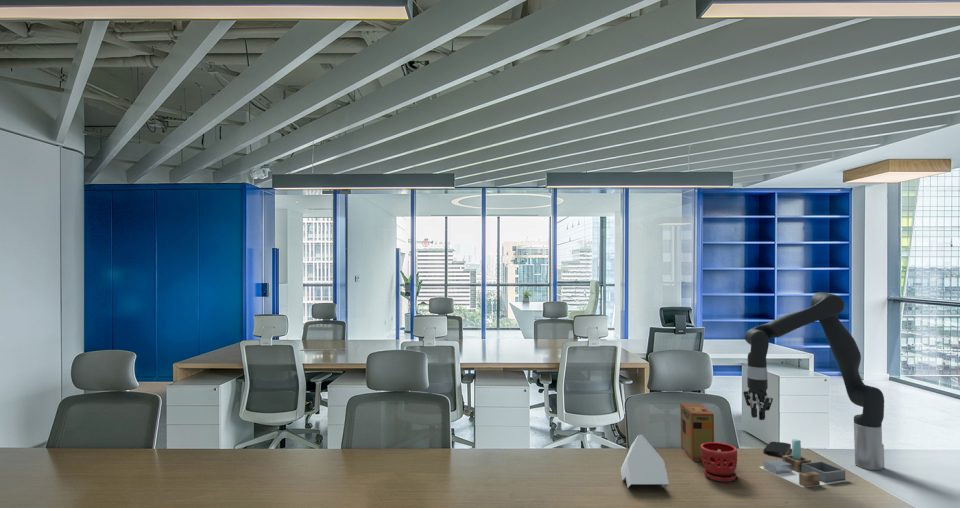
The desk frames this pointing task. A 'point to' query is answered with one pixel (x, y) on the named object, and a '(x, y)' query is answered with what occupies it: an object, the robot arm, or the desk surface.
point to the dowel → (796, 449)
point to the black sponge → (777, 449)
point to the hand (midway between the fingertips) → (758, 418)
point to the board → (797, 477)
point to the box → (695, 429)
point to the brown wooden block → (809, 479)
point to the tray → (824, 471)
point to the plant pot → (719, 461)
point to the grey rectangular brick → (777, 466)
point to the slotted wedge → (643, 465)
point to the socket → (795, 462)
